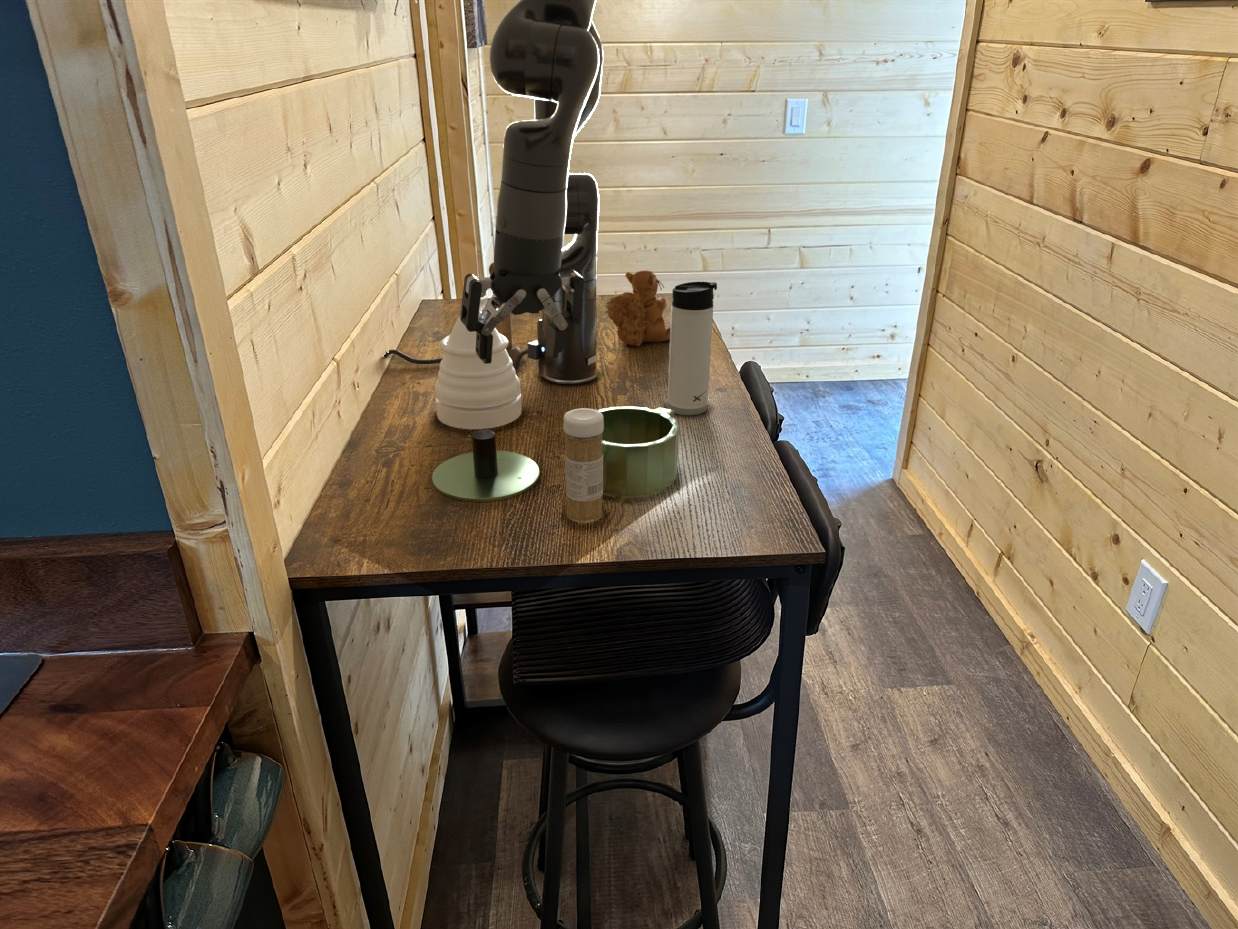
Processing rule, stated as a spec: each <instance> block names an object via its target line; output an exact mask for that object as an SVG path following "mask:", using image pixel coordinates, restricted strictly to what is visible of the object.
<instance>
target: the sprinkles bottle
mask: <svg viewBox="0 0 1238 929" xmlns="http://www.w3.org/2000/svg"><path fill="white" fill-rule="evenodd" d="M597 410H598V409H594V408H586V407H583V408H575V409H571V410H569V411H566V412H565V414H564V415H563V433H564V437H565V438H564V440H565V453H564V455H565V457H564V458H565V460H564V463H565V467H564V468H565V495H566V515H565V516H566V517H567V518H568V519H569V520H571V521H572V522H575V523H581V524H583V523H584V524H585V523H587V524H588V523H593V522H596V521H599V520H600V519H602V517H603V516H604V511H603V495H604V493H603V454H602V434H603V430H604V419H603V415H602V413H601V412H599V411H597Z"/></svg>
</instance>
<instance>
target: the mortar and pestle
mask: <svg viewBox="0 0 1238 929" xmlns="http://www.w3.org/2000/svg"><path fill="white" fill-rule="evenodd" d="M493 269H494V261H493V262H492V263H491V264H490V265H489V267H488V274H489V275H490V276H491V274H492V272H493ZM490 276H489V277H490ZM491 291H492V290H491ZM493 295H494V292H493V291H492V296H493ZM501 306H502V304H500V305H499V308H500V307H501ZM499 308H498V309H499ZM512 322H513V321H512V313H510V314H509V315H508V317H507V318H506V319H505V320H504V321H503V322H500V323H499V324H498V325H497V327H496V328H495V329H496V330H497V332H498V334H501V335H503V336H505V337H506V338H507V340H508V346H507V348H506V350H507V353H508V355H509V357H510V358H511V360H512V362H513V364H512V365H514V364H515V362H516V359H517V356H518V355H519V354H520V353H521V348H519V346H517V345H516V344H514V343H513V324H512ZM521 362H522V360H521V361H520V363H521Z"/></svg>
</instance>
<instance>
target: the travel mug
mask: <svg viewBox="0 0 1238 929" xmlns="http://www.w3.org/2000/svg"><path fill="white" fill-rule="evenodd" d="M717 289H718V284H717V282H713V281H711V282H709V281H690V282H683V283H680V284H677V285H675V286H674V288H672V294H671V298H672V299H671V309H670V327H671V329H670V339H669V355H668V357H669V358H668V380H667V381H668V384H667V405H666V406H667V409H669V410H672V411H674V414H677V415H680V416H697V415H702V414H703V413H705V412H706V411H707V409H708V399H709V383H710V382H709V381H710V369H711V368H710V366H711V352H712V336H713V335H712V334H713V320H714V318H713V317H714V296H715V294H714V291H716V290H717Z"/></svg>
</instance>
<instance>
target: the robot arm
mask: <svg viewBox="0 0 1238 929" xmlns="http://www.w3.org/2000/svg"><path fill="white" fill-rule="evenodd" d="M596 3H597V0H519V1H518V2H517V3H516V4H515V5H514V6H513V7H512V8H511V9H510V10H509V11H507V14H505V16H504V17H503V18H502V19H501V21H500V23H499V24H498V26H497V28H496V30H495V32H494V35H493V37H492V40H491V44H490V49H489V68H490V73H491V75H492V77H493V79H494V82H495V83H496V84H497V85H498V87H499V88H500V89H501V90H502V91H504V92H505V93H507V94H511V95H512V96H517V97H524V98H529V99H534V102H533V103H534V108H533V109H534V116H533V117H534V119H529V120H518V121H515V122H512V123H510V124H509V125H508V126H507V127H506V129H505V131H504V136H503V145H502V163H501V175H500V186H499V191H498V197H497V203H496V215H495V216H496V218H495V233H494V247H493V262H494V269H493V272H492V274H491V276H487V277H484V276H483V277H481V276H475V275H474V274H473V273H467V274H465V276H464V279H463V280H464V281H463V288H462V297H461V298H462V299H461V307H460V308H461V309H460V316H459V317H460V320H461V322H462V323H463V324H464V325H465V327H466V328H467V330H468V331H470V332H474V331H475V332H476V349H475V351H476V353H477V355H478V356H479V358H480V359H481V360H482V361H483V362H484V364H489V363H491V361H492V346H493V335H492V334H491V333H492V331H493V330H494V329H495V328H496V327H497V325H498V324H499V323H500V322H503V321H504V320H505V319H506V318H507V317H508V315H509V314H510V313H511V315H513V316H518V315H523V314H526V313H527V314H533V315H534V314H535V315H536V314H539V313H540V312H541V319H539V320H537V322H536V330H537V333H536V334H537V339H535V340H533V341H531V342H527V343H526V344H527V348H525V349H523V350H522V351H520V354H519V355H518V356H517V359H516V362H515V364H514V365H512V366H513V367H514V369H515V370H516V369H518V368H519V366H520V364H521V362H522V359H523V357H524V356H526V355H527V359H531V360H534V361H538V363H537V364H538V365H537V366H538V375H539V376H542V378H543V379H544V380H546V381H548V382H549V383H554V384H559V385H581V384H586V383H589V382H592V381H593V380H595V379H596V378H597V377H598V369H597V368H598V367H597V366H598V364H597V363H598V351H597V350H598V347H597V344H598V342H597V340H598V338H597V337H598V336H597V335H598V334H597V333H598V331H597V330H598V329H597V328H598V327H597V326H598V325H597V324H598V322H597V320H598V319H597V318H598V317H597V316H598V314H597V310H598V308H597V300H598V299H597V296H598V295H597V265H598V263H597V262H598V232H599V231H598V230H599V216H600V214H599V213H600V194H599V188H598V183H597V181H596V179H595V177H594V176H593V175H592V174H590V173H585V172H584V173H580V172H579V173H569V170H570V160H571V154H572V148H573V143H574V139H575V137H576V136H577V134H578V133H579V132H580V131H581V129H582V128H584V125H585V124H586V123H587V121H588V120H589V119H590V118H591V116H592V114H593V112H594V111H595V109H596V107H597V105H598V103H599V99H600V96H601V87H602V86H601V85H602V76H603V64H604V50H603V48H604V47H603V46H602V42H601V38H600V34H599V33H598V30H597V29H596V26H595V24H594V21H593V20H592V19H593V14H594V10H595V6H596ZM572 235H573V236H574V237H573V239H572V241H571V242H570V243H568V244H567V245H566V246H564V239H565V236H572ZM488 290H491V291H493V292H494V295H493V294H492V296H491V297H490V298H489V299H488V300H487V303H486V305H485V307H484V308H483V310H482V311H481V312H482V313H481V314H480V316H479V307H480V299H481V298H482V297H484V296H485V295H486V292H487V291H488ZM493 292H492V293H493ZM500 304H502V306H501V307H500V308H499V305H500ZM498 308H499V309H498ZM478 316H479V317H478ZM388 350H389V353H387V351H385V352H386V354H385V355H384V357H383V358H388V357H389V356H391V355H396V356H398V357H399V358H402V359H403V360H406V361H407V362H409V363H412V364H416V365H434V364H440V363H441V361H442V359H443V357H440V358H432V359H417V358H413V357H411V356H409V355H407V354H405V353H403V351H399V350H398V349H388ZM520 361H521V362H520Z"/></svg>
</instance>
